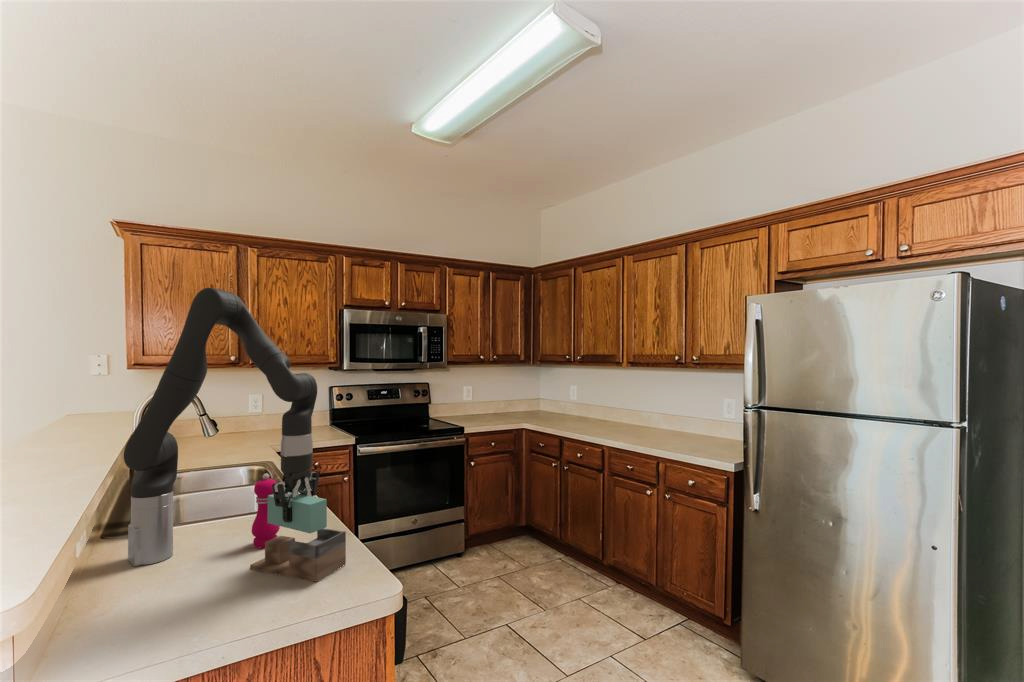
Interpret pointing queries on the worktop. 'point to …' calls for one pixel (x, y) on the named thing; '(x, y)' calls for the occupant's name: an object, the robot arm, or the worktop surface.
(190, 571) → the worktop surface
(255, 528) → the pepper mill
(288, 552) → the bracket stand
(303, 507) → the teal rectangular block
